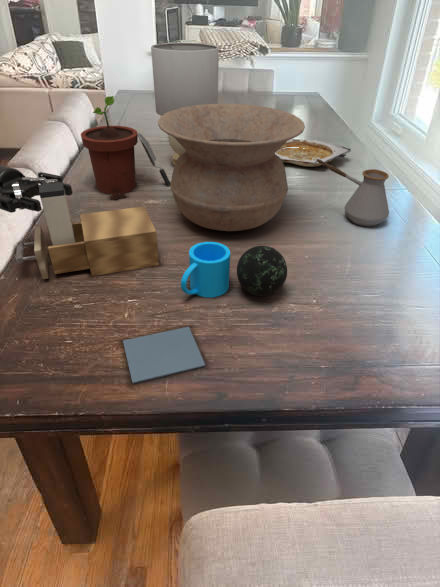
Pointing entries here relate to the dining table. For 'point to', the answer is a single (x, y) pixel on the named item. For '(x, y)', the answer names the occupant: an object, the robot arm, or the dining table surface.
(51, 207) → the black-capped tall post
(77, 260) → the drawer
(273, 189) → the pot
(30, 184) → the robot arm
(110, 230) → the cabinet
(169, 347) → the mat
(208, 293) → the mug
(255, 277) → the decorative stone
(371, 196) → the coffee pot
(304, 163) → the pizza
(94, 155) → the potted plant
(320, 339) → the dining table surface
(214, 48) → the lamp
